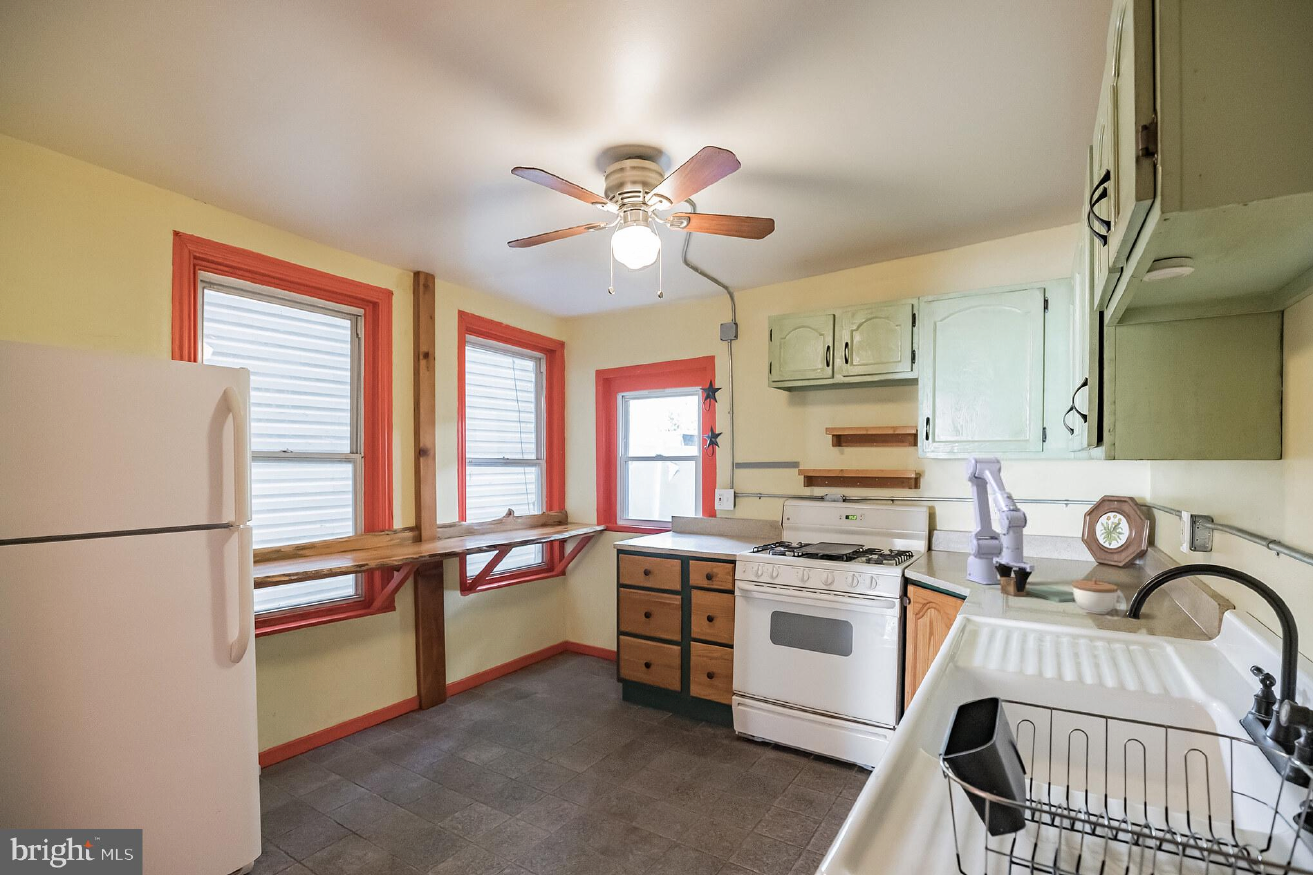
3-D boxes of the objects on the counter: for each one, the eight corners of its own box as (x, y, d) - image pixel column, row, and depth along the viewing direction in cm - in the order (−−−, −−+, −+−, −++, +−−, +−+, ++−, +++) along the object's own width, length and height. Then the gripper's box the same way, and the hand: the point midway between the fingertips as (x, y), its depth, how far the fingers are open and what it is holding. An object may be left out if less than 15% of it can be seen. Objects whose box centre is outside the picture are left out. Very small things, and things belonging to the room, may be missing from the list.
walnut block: (1000, 592, 199) (1000, 577, 200) (1013, 591, 201) (1013, 576, 201) (1013, 596, 195) (1013, 580, 195) (1026, 595, 196) (1026, 579, 196)
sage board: (1015, 590, 203) (1015, 587, 203) (1045, 588, 206) (1045, 585, 206) (1058, 602, 187) (1058, 598, 187) (1089, 599, 190) (1089, 596, 190)
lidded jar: (1079, 604, 184) (1079, 573, 185) (1122, 612, 176) (1122, 579, 176) (1067, 610, 178) (1067, 578, 178) (1111, 618, 169) (1111, 584, 170)
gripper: (985, 544, 204) (985, 585, 204) (1021, 551, 190) (1021, 595, 190) (1002, 543, 206) (1003, 584, 206) (1039, 550, 192) (1040, 594, 191)
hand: (1013, 589), depth 198 cm, fingers closed on walnut block, 5 cm apart
